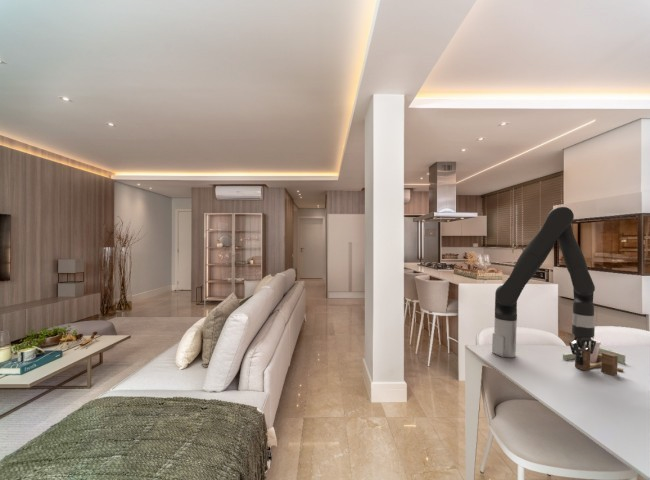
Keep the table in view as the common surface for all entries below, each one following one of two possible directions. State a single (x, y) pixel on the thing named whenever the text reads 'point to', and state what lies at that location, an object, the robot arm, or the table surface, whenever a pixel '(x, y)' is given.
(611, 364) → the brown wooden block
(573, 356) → the frame
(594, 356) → the smoothie
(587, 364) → the wooden mallet
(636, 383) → the table surface
